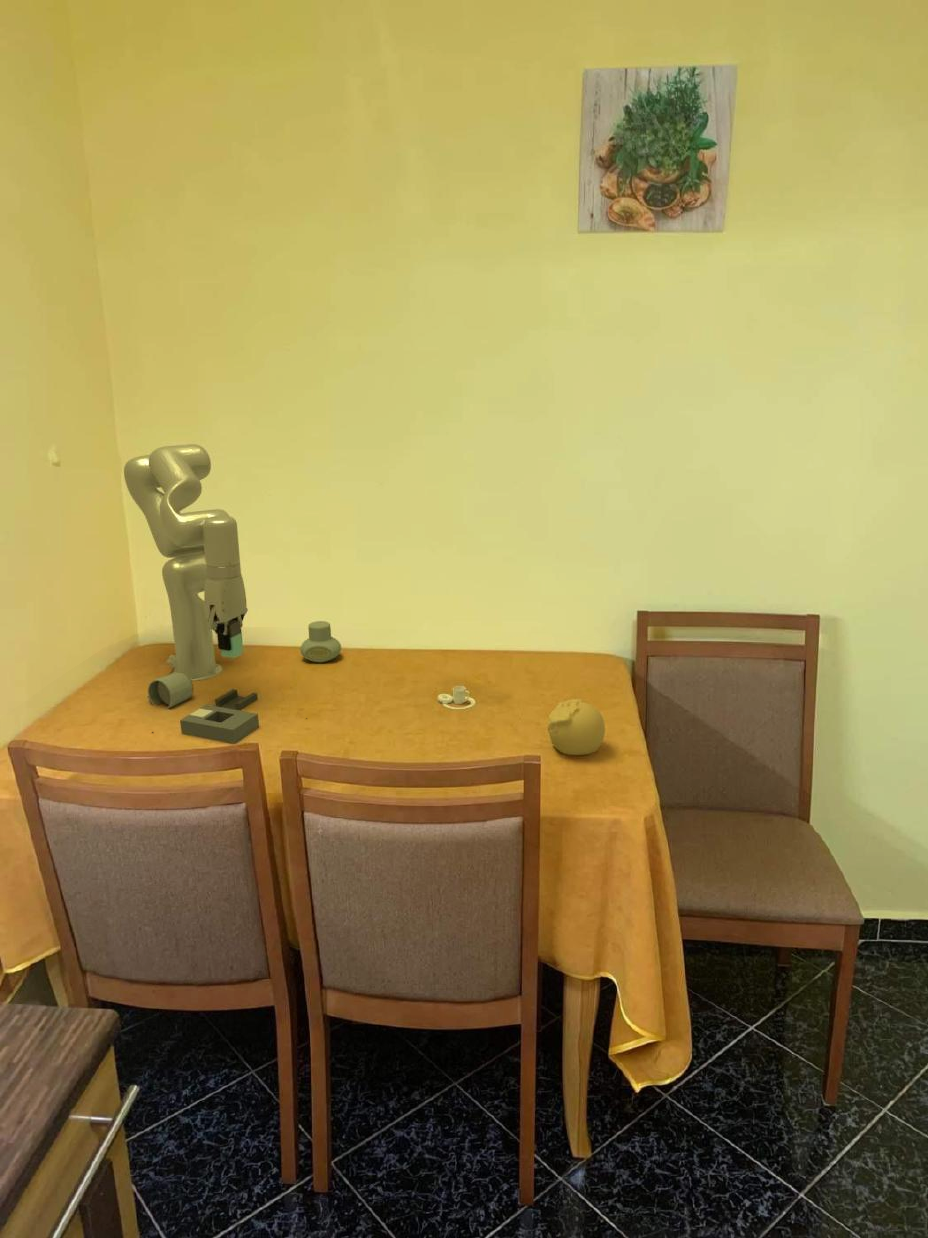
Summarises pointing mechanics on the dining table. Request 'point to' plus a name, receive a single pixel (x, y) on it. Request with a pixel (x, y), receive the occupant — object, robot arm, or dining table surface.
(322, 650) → the air freshener
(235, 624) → the plug
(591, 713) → the sculpture
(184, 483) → the robot arm
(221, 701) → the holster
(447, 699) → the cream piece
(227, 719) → the port panel
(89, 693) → the dining table surface
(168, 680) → the ceramic mug
